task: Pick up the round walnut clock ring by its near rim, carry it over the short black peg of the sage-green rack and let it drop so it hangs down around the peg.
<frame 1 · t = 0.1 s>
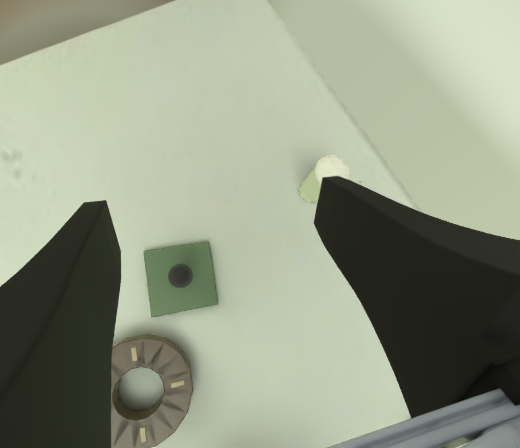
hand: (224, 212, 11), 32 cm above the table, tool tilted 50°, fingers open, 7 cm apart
milkshake: (310, 194, 47), on the table
clock ring: (142, 385, 37), on the table
rack: (181, 278, 41), on the table
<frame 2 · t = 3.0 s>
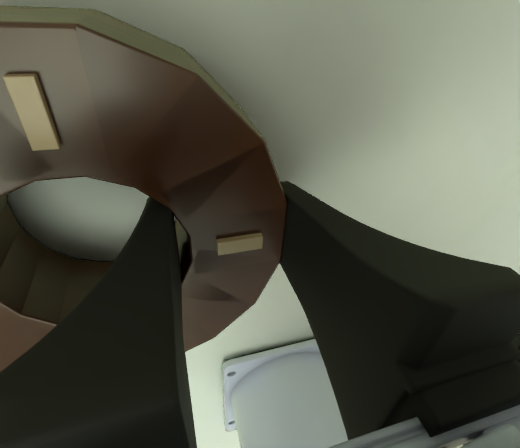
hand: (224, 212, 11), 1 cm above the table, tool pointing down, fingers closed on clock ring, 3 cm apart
clock ring: (101, 204, 11), on the table, touching gripper
when the fingers open (6 cm above the table, at t = 8.4 s): clock ring drops 3 cm, resting on rack.
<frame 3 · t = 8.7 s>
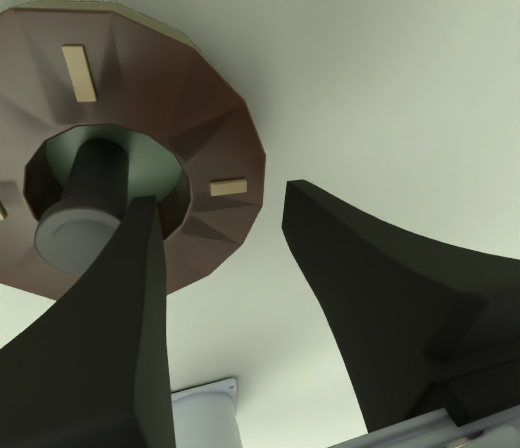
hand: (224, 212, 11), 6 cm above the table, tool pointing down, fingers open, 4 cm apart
clock ring: (118, 160, 14), point 1 cm above the table, touching rack
rack: (105, 148, 14), on the table
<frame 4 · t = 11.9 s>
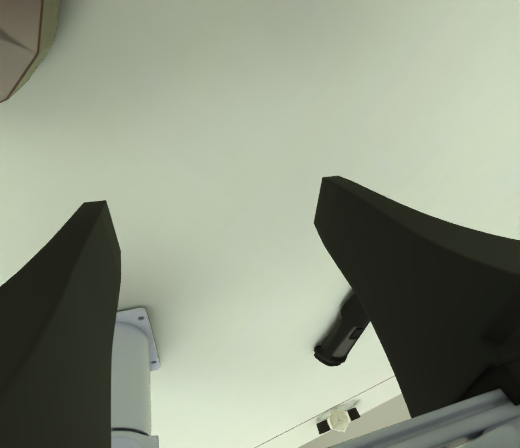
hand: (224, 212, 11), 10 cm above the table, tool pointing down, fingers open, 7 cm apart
watch: (333, 411, 57), on the table
electric trimmer: (344, 311, 37), on the table
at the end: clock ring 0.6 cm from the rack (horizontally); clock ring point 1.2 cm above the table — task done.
